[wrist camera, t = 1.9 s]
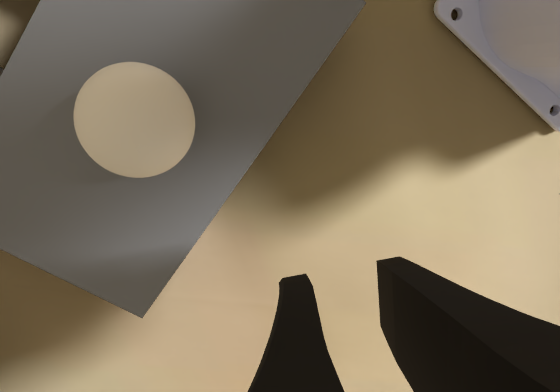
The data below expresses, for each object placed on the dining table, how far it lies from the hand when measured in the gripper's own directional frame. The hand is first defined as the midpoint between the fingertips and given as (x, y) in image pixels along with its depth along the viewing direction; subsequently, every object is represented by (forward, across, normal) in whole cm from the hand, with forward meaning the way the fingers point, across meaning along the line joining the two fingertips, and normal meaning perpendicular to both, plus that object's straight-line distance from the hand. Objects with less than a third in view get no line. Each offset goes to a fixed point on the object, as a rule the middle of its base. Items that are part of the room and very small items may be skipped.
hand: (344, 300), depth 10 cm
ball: (+4, +5, -5) cm, 8 cm away
